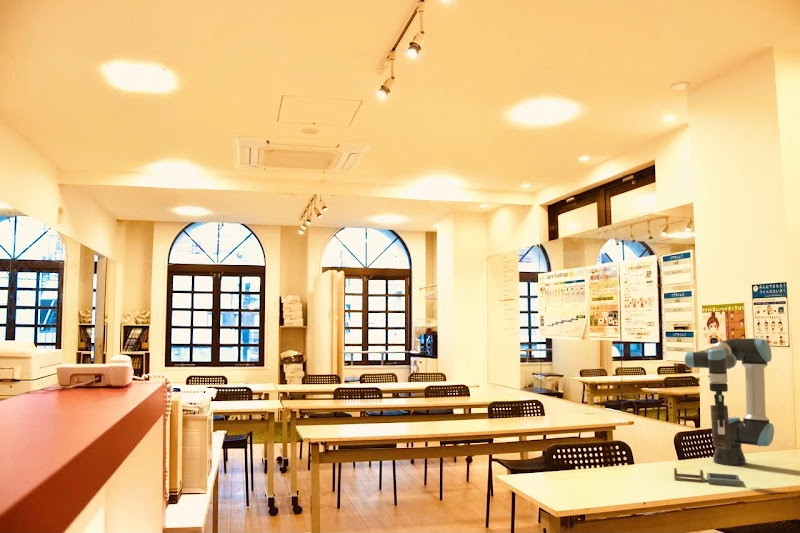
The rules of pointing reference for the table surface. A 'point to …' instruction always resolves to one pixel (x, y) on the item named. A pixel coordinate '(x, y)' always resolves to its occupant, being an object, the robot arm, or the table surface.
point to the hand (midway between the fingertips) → (720, 432)
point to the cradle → (689, 476)
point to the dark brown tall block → (718, 439)
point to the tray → (723, 479)
